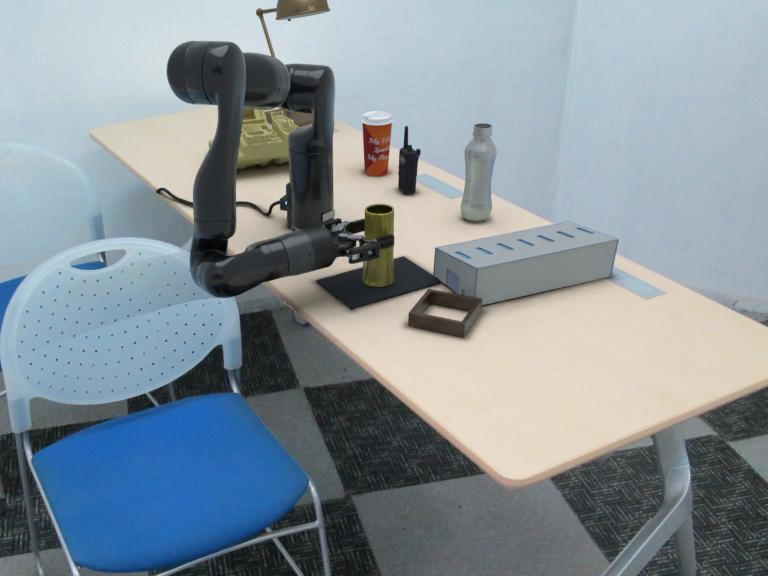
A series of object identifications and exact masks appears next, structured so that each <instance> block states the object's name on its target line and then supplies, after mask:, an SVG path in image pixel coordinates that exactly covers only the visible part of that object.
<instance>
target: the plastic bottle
mask: <svg viewBox="0 0 768 576" xmlns="http://www.w3.org/2000/svg"><path fill="white" fill-rule="evenodd" d="M492 136H493V125H492V124H490V123H486V122H482V123H481V122H480V123H475V124H474V125H473V131H472V138H471V139H470V141H468V143H467V144H466V146H465V148H464V165H465V168H464V169H465V179H464V188H463V194H462V198H461V201H460V206H459V207H460V214H461V216H462V217H463V218H464V219H466V220H468V221H473V222H481V221H485V220H487V219H488V218H489V217H490V216H491V214H492V210H493V201H492V181H493V179H492V177H493V173H494V167H495V163H496V159H497V153H498V152H497V146H496V144H495V143H494V141H493V140H492V138H491V137H492Z"/></svg>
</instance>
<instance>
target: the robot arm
mask: <svg viewBox="0 0 768 576" xmlns="http://www.w3.org/2000/svg"><path fill="white" fill-rule="evenodd" d="M275 57H276V56H275ZM275 57H272V56H271V55H269V54H265V53H260V52H249V51H247V52H245V51H244V52H243V51H242V49H241V47H240V46H239V45H238V44H237V43H236V42H233V41H227V40H188V41H185V42H181V43H180V44H178V45H177V46H176V47H175V48H173V50H172V52H171V53H170V54H169V56H168V59H167V63H166V71H165V72H166V78H167V82H168V85H169V88H170V89H171V91H172V93H173V94H174V96H175V97H177V98H178V100H180V101H182V102H183V103H187V104H191V105H203V106H217V122H216V129H215V133H214V137H213V138H212V140H213V141H212V144H211V146H210V148H209V147H208V150H207V152H206V154H205V156H204V158H203V159H202V161H201V163H200V166H199V168H198V170H197V172H196V175H195V177H194V180H193V187H192V201H189V200H187V199H183V198H180V197H178V196H176V195H175V194H173V193H172V192H171V191H170V190H168V189H167V188H166V187H159V188H157V190H156V191H155V193H157V194H159V193H160V192H164V193H165V194H167V195H168V196H169V197H170V198H172V199H173V200H175V201H177V202H180V203H183V204H185V205H188V206H191V207H192V212H193V214H192V215H193V228H194V229H193V234H192V239H191V247H190V253H189V271H190V276H191V277H192V280H193V283H194V284H195V285H196V286H197V287H198V288H200V289H201V290H202V291H204V292H206V293H207V294H208V295H210V296H212V297H214V298H216V299H217V298H218V299H228V298H234V297H237V296H240V295H242V294H245V293H247V292H249V291H250V290H253V289H254V288H256V287H259V286H260V285H262V284H263V283H268V282H272V281H275V280H280V279H283V278H287V277H296V276H301V275H304V274H308V273H311V272H315V271H319V270H323V269H327V268H330V267H331V266H332V265H333V264H334V262H335V260H336V259H338V258H345V257H347V258H348V264H349V265H354V264H358V263H363V261H368V260H372V259H376V258H379V255H380V250H381V249H385V248H389V247H392V246H394V247H395V234H394V235H392V234H388V235H384V236H380V237H376V238H364V234H359V233H363V232H364V228H365V217H364V218H361V219H355V220H352V221H349V220H342V218H341V217H337V218H335V217H336V210H335V207H334V205H335V201H334V200H335V199H334V131H335V106H336V105H335V103H336V78H335V73H334V71H333V69H332V67H330V66H329V65H325V64H311V63H310V64H309V63H285V64H284V62H282V61H281V60H280V59H279V58H277V57H276V58H275ZM244 107H245V108H250V109H257V110H264V111H271V110H275V109H283V110H285V111H288V112H293V113H303V114H313V120H312V123H311V124H309V125H307V126H303V127H300V128H297V129H295V130H293V131H291V132H290V133H289V135H288V156H289V162H288V177H289V178H288V179H289V180H288V181H289V182H287V183H286V184H285V194H284V195H283V196H281V197H280V198H279V200H276V201H274V202H273V203H271V204H270V205H269V208H268V210H267V212H265V211H264V210H262V209H261V208H260V207H259V206H258V205H257V204H255V203H253V202H251V201H243V200H238V201H237V173H238V172H237V170H238V169H237V161H238V153H239V146H240V138H241V130H242V121H243V112H244ZM237 205H239V206H240V205H243V206H249V207H252V208H254V210H256V211H258V212H259V213H260V215H263V216H264V217H269V216H270V215H272V212H273V209H274V207H276V206H278V205H279V210H280V211H283V212H286V220H287V221H286V222H287V228H291V229H292V230H293V231H290V232H286V233H283V234H281V235H278V236H275V237H272V238H271V237H270V238H267V239H263V240H260V241H256V242H253V243H250V244H248V245H247V246H246V247H245V249H244V251H242V252H240V253H236V254H231V255H228V252H229V251H228V250H229V239H231V238H233V236H234V235H235V234H236V231H237ZM357 242H358V246H357ZM364 243H370V244H368V245H364ZM368 254H369V255H368Z"/></svg>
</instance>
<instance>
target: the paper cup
mask: <svg viewBox="0 0 768 576" xmlns="http://www.w3.org/2000/svg"><path fill="white" fill-rule="evenodd" d="M360 122H361V123H362V143H363V144H362V145H363V164H364V174H365V175H367V176H370V177H383V176H386V175H387V174H388V171H389V160H390V150H391V140H392V139H391V138H392V125H393V124H392V123H393V122H394V118H393V115H392V113H390V112H387V111H383V110H374V111H372V110H371V111H367V112H364V114H362V118H361V120H360Z"/></svg>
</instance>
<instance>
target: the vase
mask: <svg viewBox="0 0 768 576" xmlns="http://www.w3.org/2000/svg"><path fill="white" fill-rule="evenodd" d="M364 218H365V228H364V231H363V232H364V234H363V236H364V238H376V237H380V236H384V235H388V234H392V235H394V236H395V208H394V207H393V205H390V204H387V203H373V204H370V205H367V206H366V207H365V209H364ZM368 244H370V243H364V245H368ZM394 247H395V245H394V246H392V247H389V248H385V249H381V250H380V255H379V258H376V259H372V260H368V261H363V262H362V267H363V274H362V282H363V283H364V284H365V285H367V286H370V287H377V288H381V287H387V286H389V285H391V284H392V283H393V282H394V259H395V258H394V254H395V253H394V252H395V251H394V249H395V248H394ZM368 255H369V254H368Z"/></svg>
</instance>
